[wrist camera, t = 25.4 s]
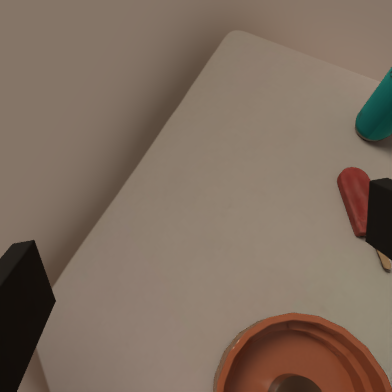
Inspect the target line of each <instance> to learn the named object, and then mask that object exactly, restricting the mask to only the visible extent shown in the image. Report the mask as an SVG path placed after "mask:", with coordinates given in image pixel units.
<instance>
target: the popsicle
mask: <svg viewBox="0 0 392 392" xmlns="http://www.w3.org/2000/svg"><path fill="white" fill-rule="evenodd" d="M369 181H370V179H369V177H368V175H367V174H366V173H365V172H364V171H362V170H361V169H359V168H354V167H350V168H346V169H344V170H343V171H342V172H341V174H340V175H339V176H338V179H337V183H338V187H339V190H340V193H341V196H342V199H343V202H344V205H345V207H346V210H347V213H348V216H349V219H350V222H351V225H352V228H353V231H354V233H355V235H356V236H364V235H366V225H367V210H368V195H369ZM377 252H378V254H379V257H380V259H381V262H382V264H383V266H384V268H385V269H390V268H391V264H390V261H389V259H388V257H386V256H385V255H384V254H382V253H381V252H379V251H378V250H377Z"/></svg>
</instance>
